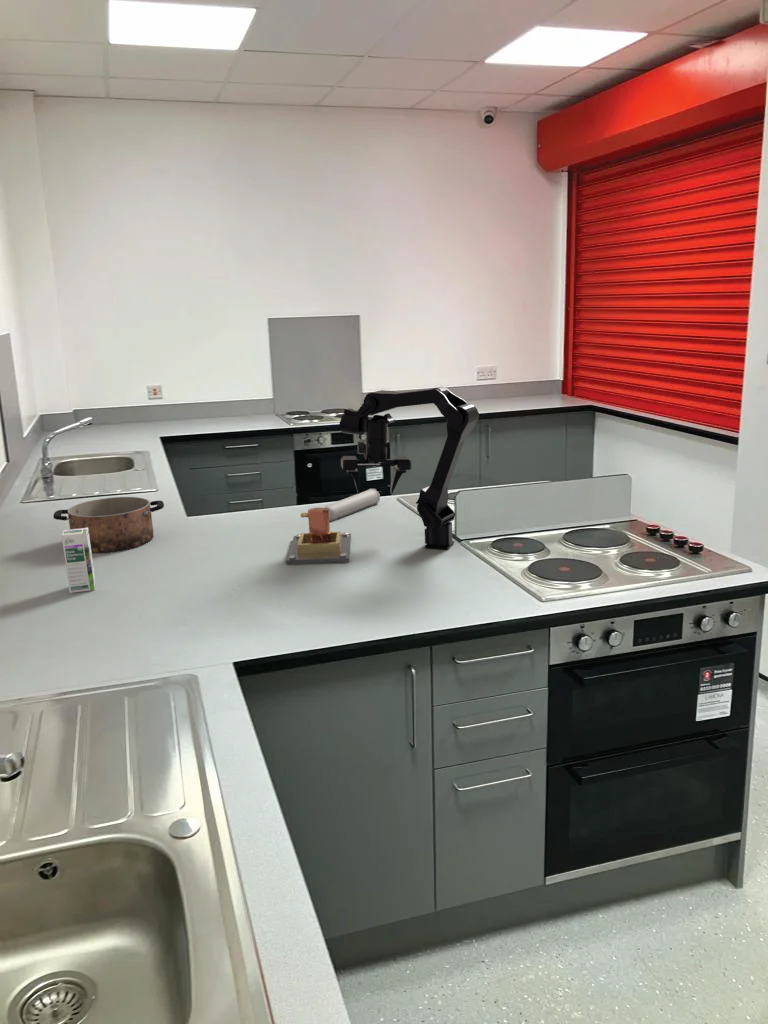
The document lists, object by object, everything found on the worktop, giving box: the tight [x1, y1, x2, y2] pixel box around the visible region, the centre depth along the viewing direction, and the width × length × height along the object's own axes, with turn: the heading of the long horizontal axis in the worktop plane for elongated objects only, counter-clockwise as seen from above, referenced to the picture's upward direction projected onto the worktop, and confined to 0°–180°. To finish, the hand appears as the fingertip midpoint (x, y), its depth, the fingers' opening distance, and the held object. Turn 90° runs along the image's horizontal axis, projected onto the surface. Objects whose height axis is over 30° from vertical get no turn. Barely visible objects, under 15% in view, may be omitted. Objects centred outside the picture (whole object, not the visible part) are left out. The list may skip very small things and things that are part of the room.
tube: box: [323, 488, 381, 522], centre depth 258 cm, size 5×5×25 cm
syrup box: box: [61, 527, 96, 594], centre depth 196 cm, size 6×6×14 cm
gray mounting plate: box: [285, 531, 352, 566], centre depth 220 cm, size 16×22×4 cm
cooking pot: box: [53, 496, 165, 554], centre depth 235 cm, size 30×22×11 cm
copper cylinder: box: [300, 507, 331, 543], centre depth 219 cm, size 8×6×10 cm
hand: (375, 493), depth 227 cm, fingers open, 9 cm apart
